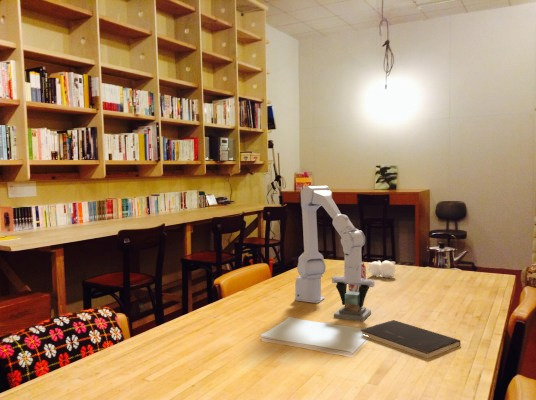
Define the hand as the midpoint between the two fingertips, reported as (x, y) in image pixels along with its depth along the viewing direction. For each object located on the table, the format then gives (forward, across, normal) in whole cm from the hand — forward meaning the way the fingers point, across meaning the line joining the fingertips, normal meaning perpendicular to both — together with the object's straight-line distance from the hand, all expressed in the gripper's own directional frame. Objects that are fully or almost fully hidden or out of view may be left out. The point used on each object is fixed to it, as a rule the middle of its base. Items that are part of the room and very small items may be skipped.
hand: (352, 305), depth 163 cm
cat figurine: (+4, -6, +64) cm, 65 cm away
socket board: (+3, 0, 0) cm, 3 cm away
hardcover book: (+4, +22, -16) cm, 28 cm away
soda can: (+4, -8, +32) cm, 33 cm away
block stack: (+2, 0, 0) cm, 2 cm away
